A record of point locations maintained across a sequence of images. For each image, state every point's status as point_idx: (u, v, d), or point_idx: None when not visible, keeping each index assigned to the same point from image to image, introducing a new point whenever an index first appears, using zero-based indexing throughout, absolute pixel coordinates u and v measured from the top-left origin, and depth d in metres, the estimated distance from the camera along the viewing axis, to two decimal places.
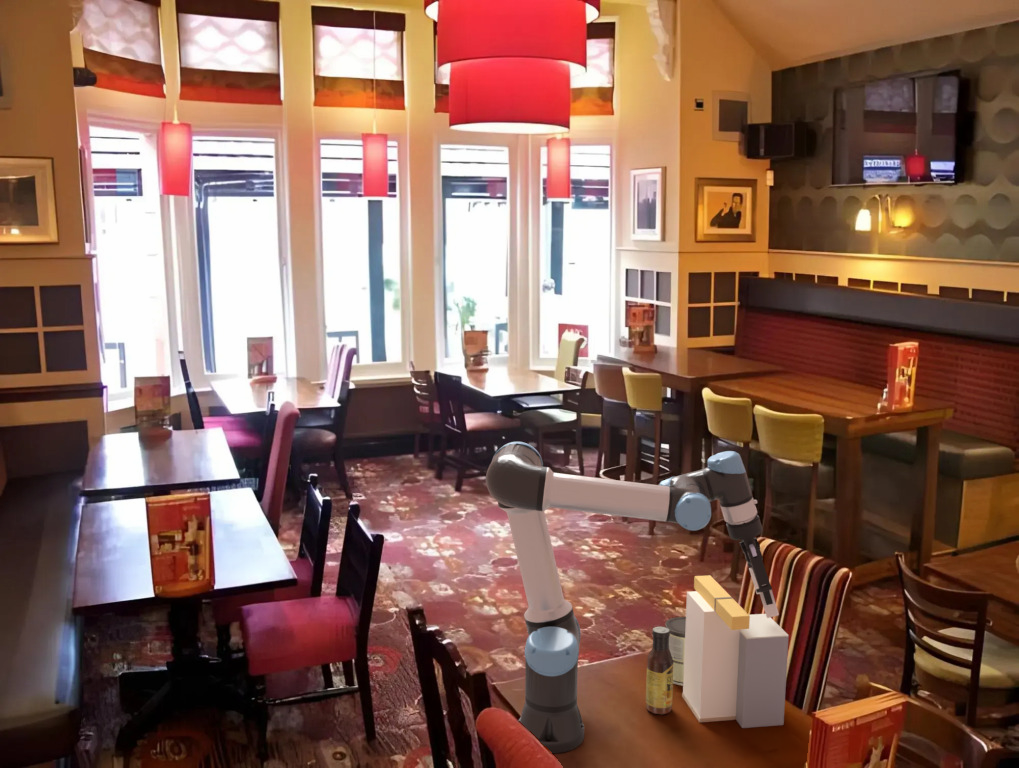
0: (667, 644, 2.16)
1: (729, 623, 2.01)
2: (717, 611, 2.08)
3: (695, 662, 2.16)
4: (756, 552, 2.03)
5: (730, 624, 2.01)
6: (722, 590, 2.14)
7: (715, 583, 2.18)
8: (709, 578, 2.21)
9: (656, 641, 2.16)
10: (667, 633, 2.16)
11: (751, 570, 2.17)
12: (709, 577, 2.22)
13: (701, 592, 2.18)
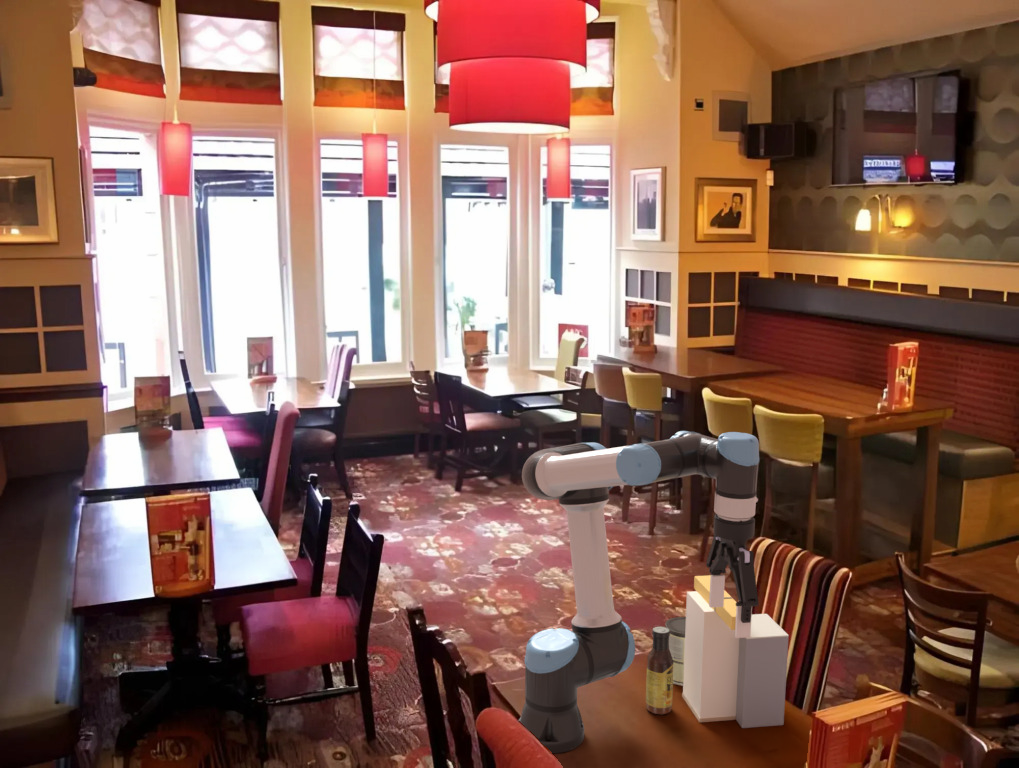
0: (667, 644, 2.16)
1: (729, 623, 2.01)
2: (717, 611, 2.08)
3: (695, 662, 2.16)
4: (750, 558, 1.68)
5: (730, 624, 2.01)
6: None
7: None
8: (709, 578, 2.21)
9: (656, 641, 2.16)
10: (667, 633, 2.16)
11: (713, 578, 1.82)
12: (709, 577, 2.22)
13: (701, 592, 2.18)
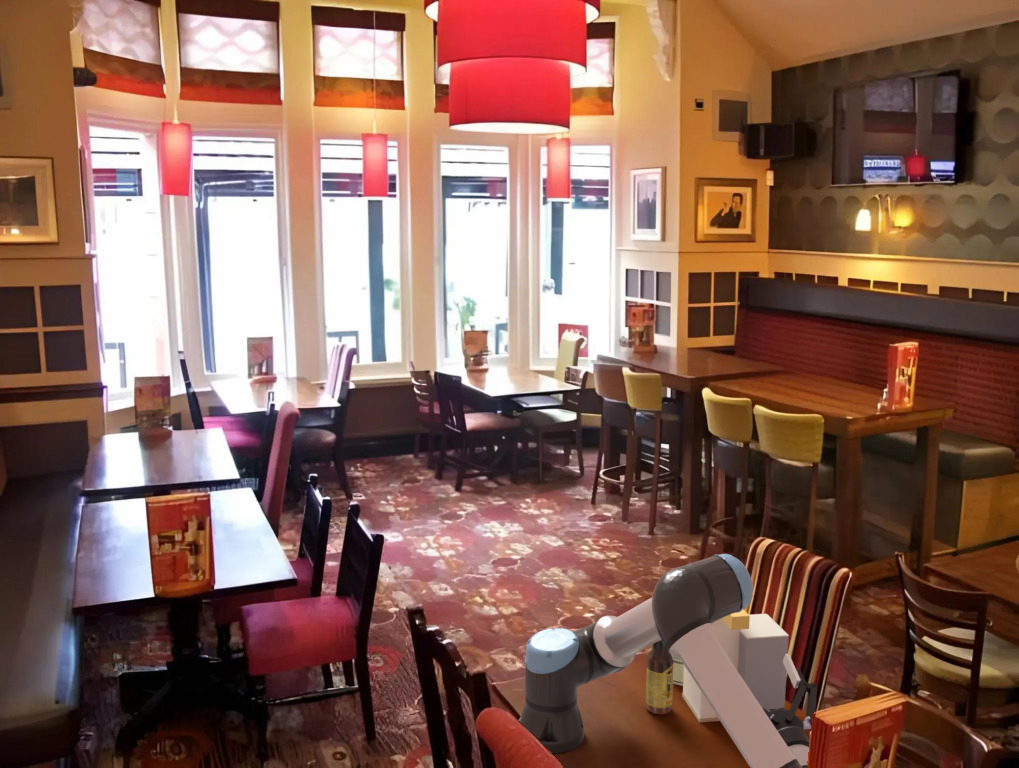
0: None
1: (729, 623, 2.01)
2: None
3: None
4: None
5: (730, 624, 2.01)
6: None
7: None
8: None
9: None
10: None
11: (796, 680, 1.88)
12: None
13: None
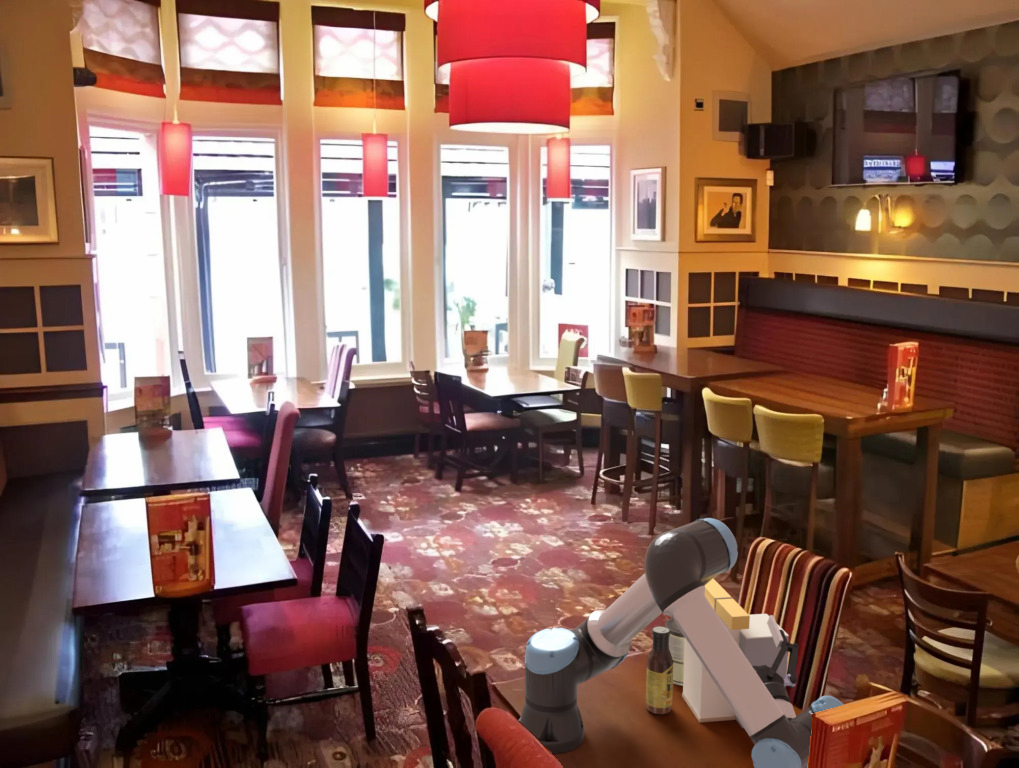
0: (667, 644, 2.16)
1: (729, 623, 2.01)
2: (717, 611, 2.08)
3: (695, 662, 2.16)
4: None
5: (730, 624, 2.01)
6: (722, 590, 2.14)
7: (715, 583, 2.18)
8: None
9: (656, 641, 2.16)
10: (667, 633, 2.16)
11: (779, 639, 1.98)
12: None
13: None
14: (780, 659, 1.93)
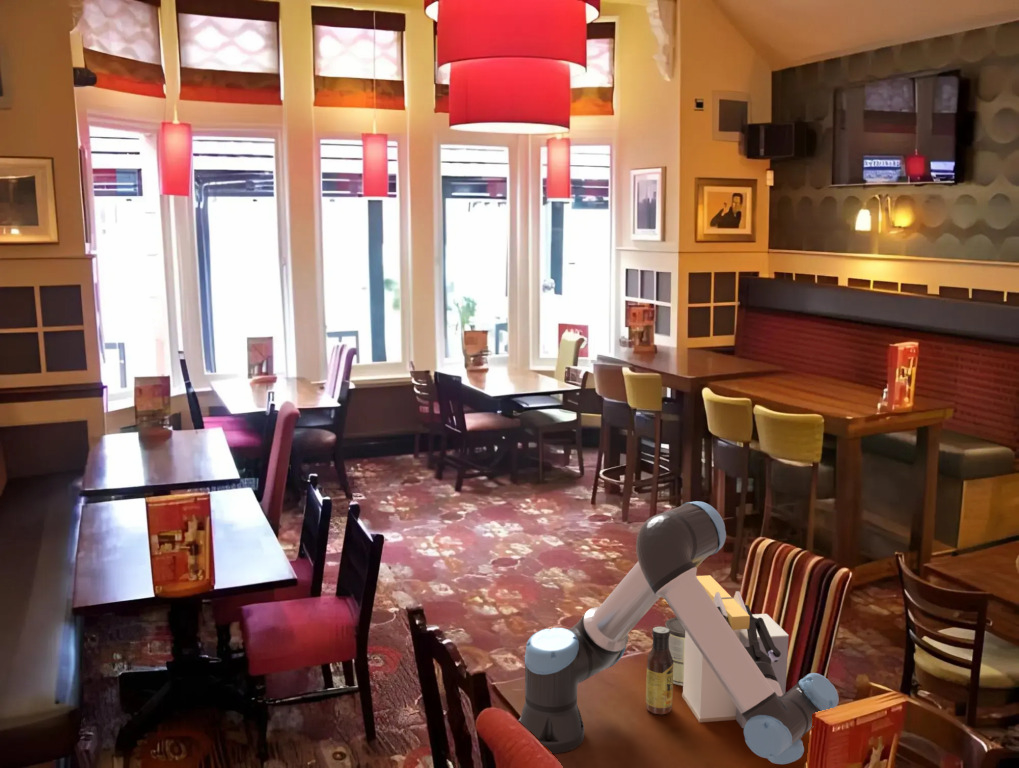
0: (667, 644, 2.16)
1: (729, 623, 2.01)
2: None
3: (695, 662, 2.16)
4: None
5: (730, 624, 2.01)
6: (722, 590, 2.14)
7: (715, 583, 2.18)
8: (709, 578, 2.21)
9: (656, 641, 2.16)
10: (667, 633, 2.16)
11: None
12: (709, 577, 2.22)
13: None
14: (755, 635, 1.99)
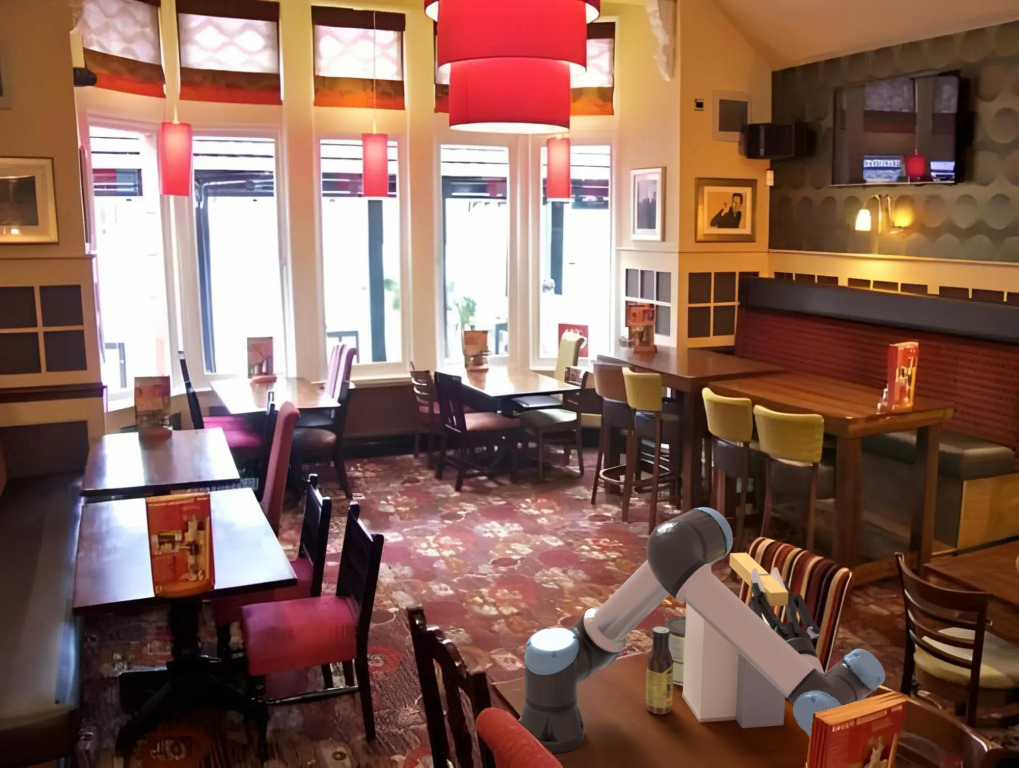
0: (667, 644, 2.16)
1: (767, 599, 1.97)
2: None
3: (695, 662, 2.16)
4: None
5: (768, 600, 1.97)
6: (758, 567, 2.10)
7: (751, 560, 2.14)
8: (745, 556, 2.17)
9: (656, 641, 2.16)
10: (667, 633, 2.16)
11: None
12: (745, 554, 2.18)
13: (737, 569, 2.14)
14: (794, 612, 1.95)
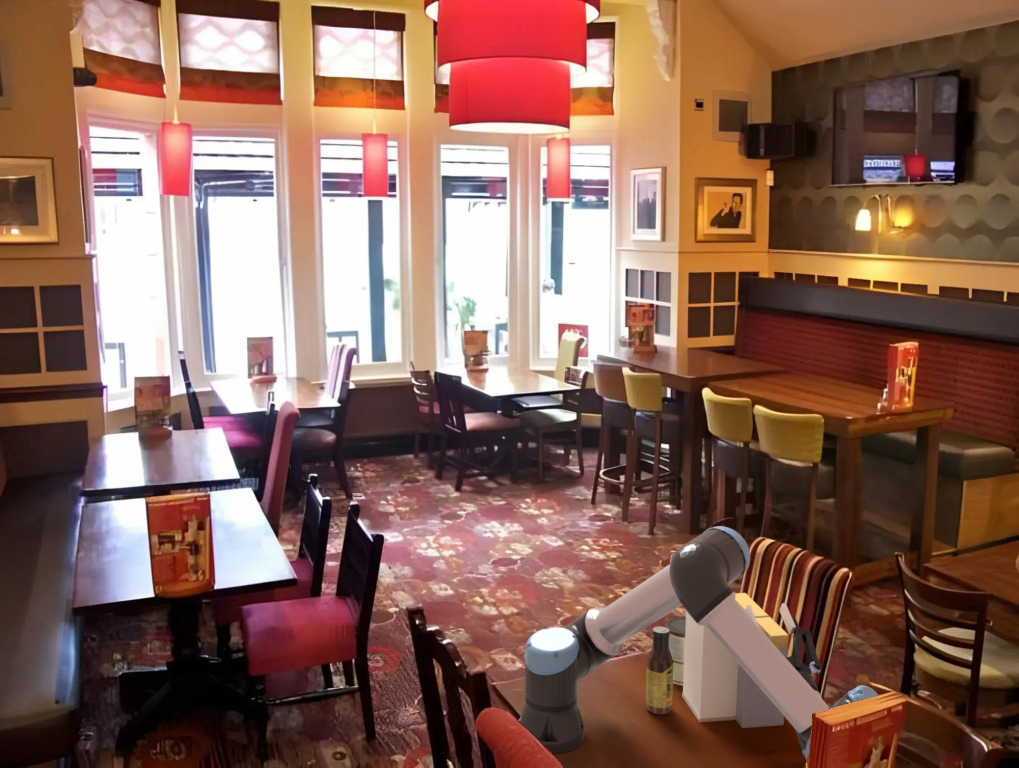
0: (667, 644, 2.16)
1: None
2: None
3: (695, 662, 2.16)
4: None
5: None
6: (758, 609, 2.16)
7: (751, 601, 2.21)
8: (744, 596, 2.24)
9: (656, 641, 2.16)
10: (667, 633, 2.16)
11: (791, 626, 2.05)
12: (744, 595, 2.24)
13: None
14: (799, 647, 2.00)
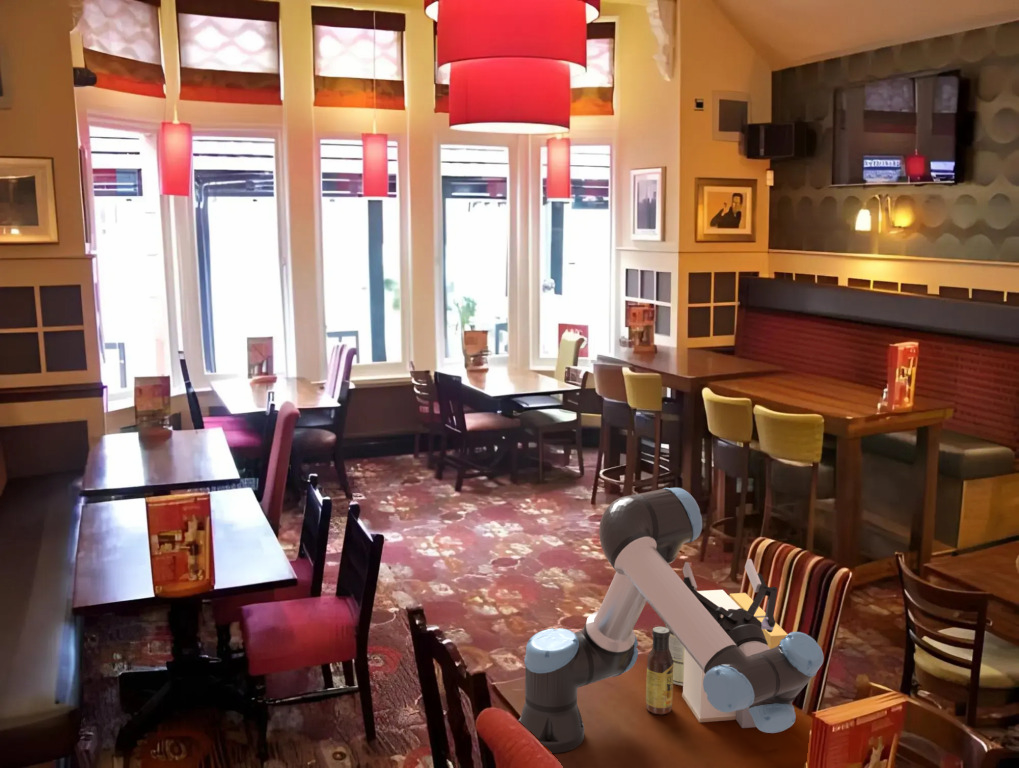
0: (667, 644, 2.16)
1: (768, 642, 2.03)
2: None
3: (695, 662, 2.16)
4: None
5: (769, 643, 2.03)
6: (758, 609, 2.16)
7: (751, 601, 2.21)
8: (744, 596, 2.24)
9: (656, 641, 2.16)
10: (667, 633, 2.16)
11: (756, 583, 1.88)
12: (744, 595, 2.24)
13: None
14: (757, 602, 1.84)
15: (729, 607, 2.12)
